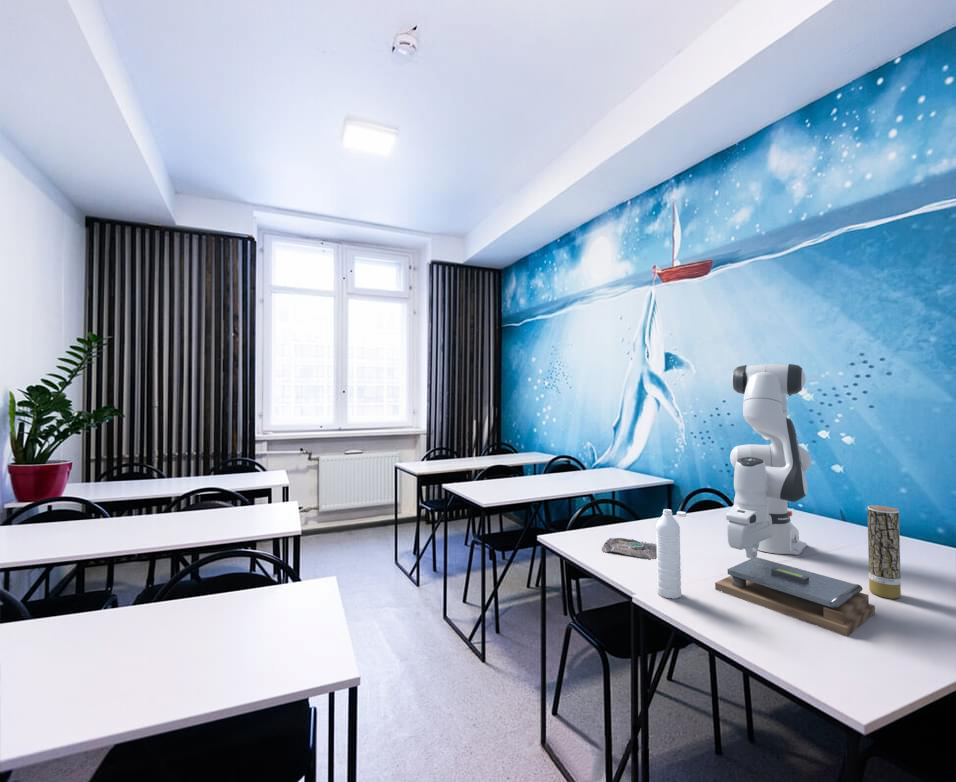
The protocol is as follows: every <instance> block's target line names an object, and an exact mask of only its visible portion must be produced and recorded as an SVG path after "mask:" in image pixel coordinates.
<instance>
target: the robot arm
mask: <svg viewBox="0 0 956 782" xmlns="http://www.w3.org/2000/svg"><path fill="white" fill-rule="evenodd" d="M730 380H731V385H732V388H733V390H734V392H736V393H738V394H741V395H743V401H742V415H743V419H744V421H745V422H746V423H747V425H749V426H751V428H752V430H753V431H754V432H755V433H756V434H758V435H760V436H762V437H765V438H766V439H768V440H770V444H754V443H753V444H752V443H751V444H750V443H748V444H741V445H735V446H734V447H733V448H732V450H730V455H729V460H730V461H729V462H730V463H731V466H732V467H733V469H734V472H733V478H732V479H733V482H732V483H733V489H734V492H735V496H734V499H733V505H731V506H732V507H731V508H730V509H729V510H728V511H727V512H726V515H725V518H726V520H727V521H728V522H727V531H726V532H727V543H728V545H729V547H730V548H732V549H735V550H739V551H741V550H745V554H746V555H745V556H746V558H748V559H752V558H754V557H758V551H761V552H765V553H770V554H776V555H777V554H779V555H796V556H799V555H800V554H801V553H802V552H803V551H804V549H805V548H806V547H807V542H805V541H802V540H800V535H799V534H800V532H799V529H798V528H797V527H796V526H795V525H794V524H793V523H792V522H791V517H792V516H793V511H792V510H788V502H791V503H796V502H798V501H800V500H801V499H803V498H805V497H806V496H807V492H808V481H807V478H806V476H805V474H806V473H807V471H808V470H809V469H810V467H811V465H812V457H811V455H810V454H809V452H808V451H807V449H805V448H803V447H802V446H800V445H799V441H798V437H797V436H798V435H797V432H796V428H795V425H794V423H793V421H792V420H791V419H790V418H788V401H787V400H788V399H787V395H788V396H789V397H791V396H792V395H795V394H799V393H801V392H802V390H803V388H804V387H805V384H806V374H805V372H804V371H803V368H802V366H800V365H798V364H792V363H789V364H783V363H765V364H764V363H763V364H752V365H751V364H750V365H747V364H745V365H739V366H736V367H735V368H734V370H733V372H732V374H731V377H730Z"/></svg>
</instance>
